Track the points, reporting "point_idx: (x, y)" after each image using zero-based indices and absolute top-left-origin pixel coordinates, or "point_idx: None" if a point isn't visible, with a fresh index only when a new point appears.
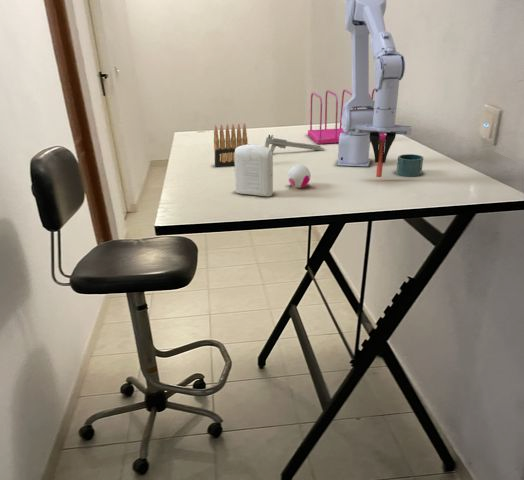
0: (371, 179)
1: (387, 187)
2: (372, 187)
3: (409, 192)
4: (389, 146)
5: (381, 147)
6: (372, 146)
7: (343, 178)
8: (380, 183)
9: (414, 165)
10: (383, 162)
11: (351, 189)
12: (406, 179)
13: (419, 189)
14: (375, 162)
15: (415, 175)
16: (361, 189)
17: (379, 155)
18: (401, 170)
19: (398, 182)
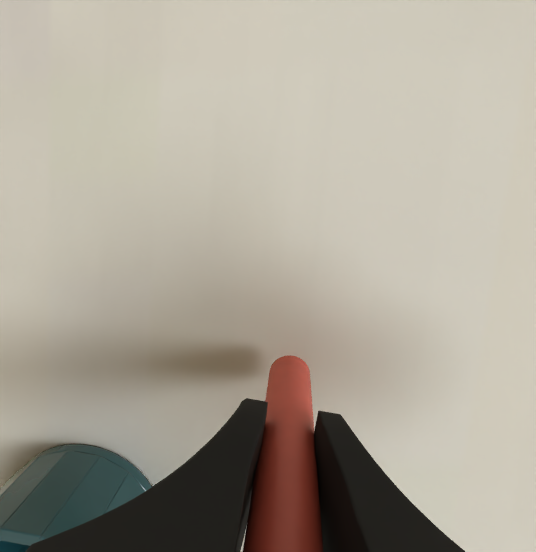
0: (334, 387)
1: (240, 193)
2: (349, 191)
3: (92, 67)
4: (163, 491)
5: (288, 544)
6: (448, 542)
7: (531, 415)
8: (281, 293)
9: (14, 498)
10: (258, 401)
11: (518, 132)
12: (104, 383)
13: (24, 149)
14: (337, 415)
15: (45, 451)
16: (439, 134)
17: (304, 464)
18: (122, 489)
19: (158, 316)
